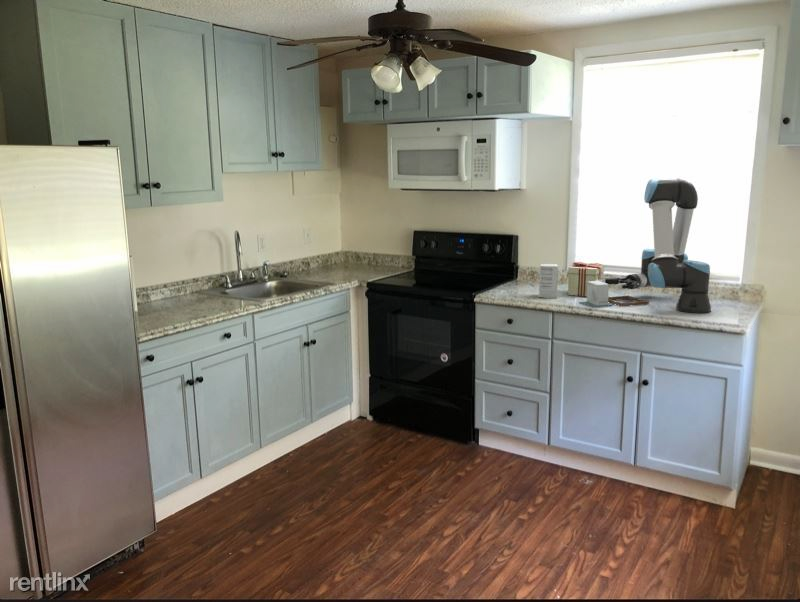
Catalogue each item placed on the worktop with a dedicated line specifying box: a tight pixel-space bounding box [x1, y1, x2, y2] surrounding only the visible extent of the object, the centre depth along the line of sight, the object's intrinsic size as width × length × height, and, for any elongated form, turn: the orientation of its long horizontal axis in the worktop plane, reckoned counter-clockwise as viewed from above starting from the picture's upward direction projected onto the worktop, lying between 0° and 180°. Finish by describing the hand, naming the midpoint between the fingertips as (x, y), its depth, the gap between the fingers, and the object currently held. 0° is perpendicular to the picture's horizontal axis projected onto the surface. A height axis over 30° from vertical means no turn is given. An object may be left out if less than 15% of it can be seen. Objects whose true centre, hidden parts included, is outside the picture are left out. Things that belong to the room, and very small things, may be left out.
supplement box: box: [538, 263, 559, 299], centre depth 352 cm, size 10×9×17 cm
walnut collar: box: [608, 295, 650, 307], centre depth 336 cm, size 16×16×2 cm
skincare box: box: [586, 281, 610, 305], centre depth 331 cm, size 10×6×10 cm, turn 13°
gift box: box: [567, 261, 605, 298], centre depth 358 cm, size 17×18×17 cm
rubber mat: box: [578, 300, 615, 308], centre depth 332 cm, size 12×12×1 cm
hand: (605, 285), depth 333 cm, fingers open, 13 cm apart
